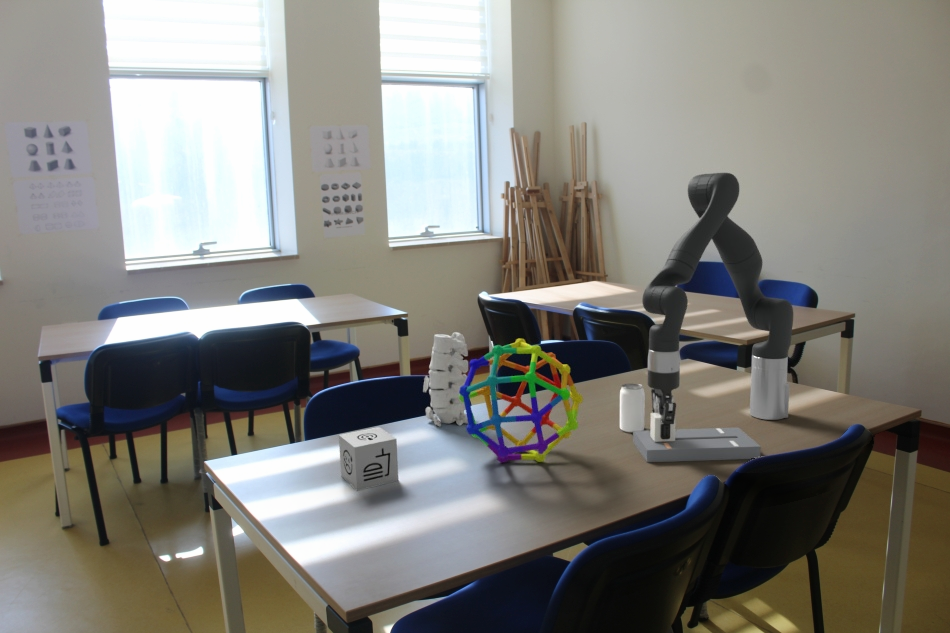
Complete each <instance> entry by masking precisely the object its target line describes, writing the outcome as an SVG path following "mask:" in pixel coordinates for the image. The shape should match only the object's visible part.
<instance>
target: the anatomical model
mask: <svg viewBox="0 0 950 633" xmlns="http://www.w3.org/2000/svg"><path fill="white" fill-rule="evenodd" d="M431 349H432V351H431V358H430V364H429V366H428V368H429V370H428V374H429V375H425V376H424V378H423V380H424V382H423V386H422V387H423V388H422V392H423V393H427V391H428V393H429V396H430V406H427V407H426V408H425V415H426V418H427V419H428V420H430V421H432V422H433V423H434V426H438V427H441V426H442V424H452V423H454V422H456V424H457V425H458V426H462V425H463V424H468V420H467V414H466V413H465V411H466V409H465V405H464V402H461V401H460V399H459V395H460V393H459V391H460V387H462V386H463V385H464V384H465V381H466V379H467V376H468V375H466V373H467V372H469V360H467V359H464V357H469V351H468V350H469V349H468V344H467V343H466V337H464V334H463V333H462V334H461V333H460V332H457V331H455V332H453V333H452V334H451V335H449V334H441V333H438V334H436V333H435V334H434V335H433V346H432V348H431ZM463 356H464V357H463ZM463 359H464V360H463ZM428 376H429V377H428ZM438 418H439V419H438Z"/></svg>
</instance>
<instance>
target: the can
mask: <svg viewBox="0 0 950 633" xmlns="http://www.w3.org/2000/svg"><path fill="white" fill-rule="evenodd" d="M645 394H646V393H645V390H644V386H643V385H642V384H639V383H633V382H632V383H624V384H622V385H621V389H620V391H619V428H620V430H621V431H623V432H625V433H631V434H633V431H644V430H645V409H646V408H645V403H646V401H645V398H646V397H645V396H646V395H645Z"/></svg>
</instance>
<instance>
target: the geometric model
mask: <svg viewBox="0 0 950 633" xmlns="http://www.w3.org/2000/svg"><path fill="white" fill-rule="evenodd" d="M513 354H519V355H521V354H522V355H524V354H526V355H528V354H531V360H530V364H529V365H526V366H524V365H520V364H518V363H515V362H512V361H509V360H507V359H508V358H509V357H510V356H512V355H513ZM538 357H540V358H541V360H539V361H538ZM492 358H493V359H492ZM546 364H549V366H550V371H551V375H552V378H553V380H551V379H550V378H548V377H546V376H544V375H542V374H540V373H539V372H537V370H538V369H539V368H541V367H544V366H545V365H546ZM468 366H469V368H470V369H469V370H468V374H467V375H466V376H467V379H466V381H465V384H464V385H463V386H462V387H460V391H459V393H460V395H459V399H460V401H461V402H464V405H465V409H466V410H465V412H466V413H465V414H467V420H468V423H467V426H466V432H467V433H468V434H469V435H471V436H472V437H473V438H478V439H479V440H480V441H481V442H482V443H483V444H484V445H485V446H486V447H487V448H488V449H489V450H490V451H492V453H494V455H495V456H497V457H496V460H497V461H498V462H499V463H500V464H503V463H507V462H508V461H520V460H521V461H522V460H523V461H526V460H527V461H531V460H532V461H534V460H535V461H536V462H537V463H543V462H544V461H545V460H546V455H548V454H549V453H550V452H551V451H552V450H553V449H554V448H555V447H556V446H557V445H558V444H559V443H561V441H562V440H564V439H569V437H571V435H572V431H576V430H577V428H579V422H578V421H577V417H578V412H579V406H580V404H582V403H583V400H584V397H583V396H582V394H581V393H578V390H577V388H576V386H575V384H574V383H575V382H574V381H573V378H572V377H571V375H570V373H571V367H570V366H569V364H563V363H562V362H560V361H559V360H558V359H557V358H556V354H555V353H553V352H545V351H543V350H542V348H541V346H540V345H539V344H535V345H531V344H529V343H527V342H526V339H524V338H516V339H515V342H512V343H510V344H506V345H503V346H502V345H501V344H497V345H494V346H493V347H492V350H491V351H489V352H488V353H486V354H485V355H483V356H481V357H480V358H479V359H477V358H475V359H474V358H473V359H470V361H469V362H468ZM484 366H485V367H486V366H491V370H490V374H489V375H487V377H486V380H484V381H483V380H482V381H480V382H478V383H475V384H473V380H474V377H475V374H476V371H477V370H478V369H480V367H484ZM502 366H505V367H508V368H511V369H514V370H517V371H521V372H523V373H524V375H514V376H513V375H511V376H497V373H498V371H499V369H500V368H501V367H502ZM557 370H558V371H559V373H558V371H557ZM559 374H560V375H561V379H560V377H559ZM517 382H518V383H519V382H521V384H520V386H519V388H518V390H517V393H516V394H515V396H509V395H507V394H504V393H501V392H499V391H497V385H498V384H507V383H517ZM527 383H528V389H529V396H530V403H531V407H530V406H528V405H526V404H525V403H523V402H522V399H521V398H522V396H523V394H524V390H525V388H526V386H527ZM536 384H537V385H538V386H541V387H543V388H545V389H547V391H550V392H552V393H553V395H552V397H551V398H550V401H549V402H548V403H547V404H546V405H545V406H543V407H542V408H540V410H539V404H538V399H537V398H538V397H537V391H536ZM568 388H569V389H568ZM481 395H482V396H484V401H485V405H486V409H487V414H488V420H484V421H482V422H479V423H477V421H476V419H475V416H474V413H473V410H472V405H471V401H470V400H471V399H472V398H475V397H479V396H481ZM569 398H570V399H571V401H572V406H571V403H570V400H569ZM498 399H501V400H504V401H506V402H508V403H509V405H508V406H506V408H505V409H503V411H501V413H500V414H499V412H500V411H499V406H498V405H499V404H498ZM561 401H562V403H563V406H564V410H565V413H566V418H567V419H566V422H565V425H564V426H563V427H562V426H560V425H559V424H557V423H555V422H554V421H552V420H550V417H549V416H550V414H551V413H552V410H553V408H555V407H556V405H558V404H559V403H560V402H561ZM516 407H519V408H521V409H522V410H524V411H526V412H527V413H529V414H524V415H521V414H520V415H510V416H509V413H511V411H513V409H514V408H516ZM519 422H531V423H532V424H534V427H533V428H532V429H531V430H530V431H529V432H528V434H527V435H526V436H525V437H524V438H523V440H522V439H521V440H519V439H518V438H516V437H515V436H513V435H512V433H510V432H508V431H507V430H506V429H504V428H503V427H502V426H501V424H502V423H519ZM544 425H545V426H546V425H547V426H549V427H551V428H552V429H554V430H555V431H556V432H554V433H553V434H552V435H550V436H548V437H547V438H546V439H544V435H543V429H542V428H543V426H544ZM489 430H491V431H492V430H493V431H495V434H496V438H497V441H498V442H496V441H494V440H493V439H492V438H491V437H489V436H488V435H486V434H485V433H484V432H486V431H489ZM535 435H536V437H537V442H535V443H529V444H528V442H530V441H531V439H533V437H534V436H535ZM504 438H506V439H507V440H509V441H510V442H511V443H512V444H514V445H515V446H512V447H510V446H509V447H507V445H505V441H504ZM522 452H526V453H522ZM518 453H519V454H518Z"/></svg>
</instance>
